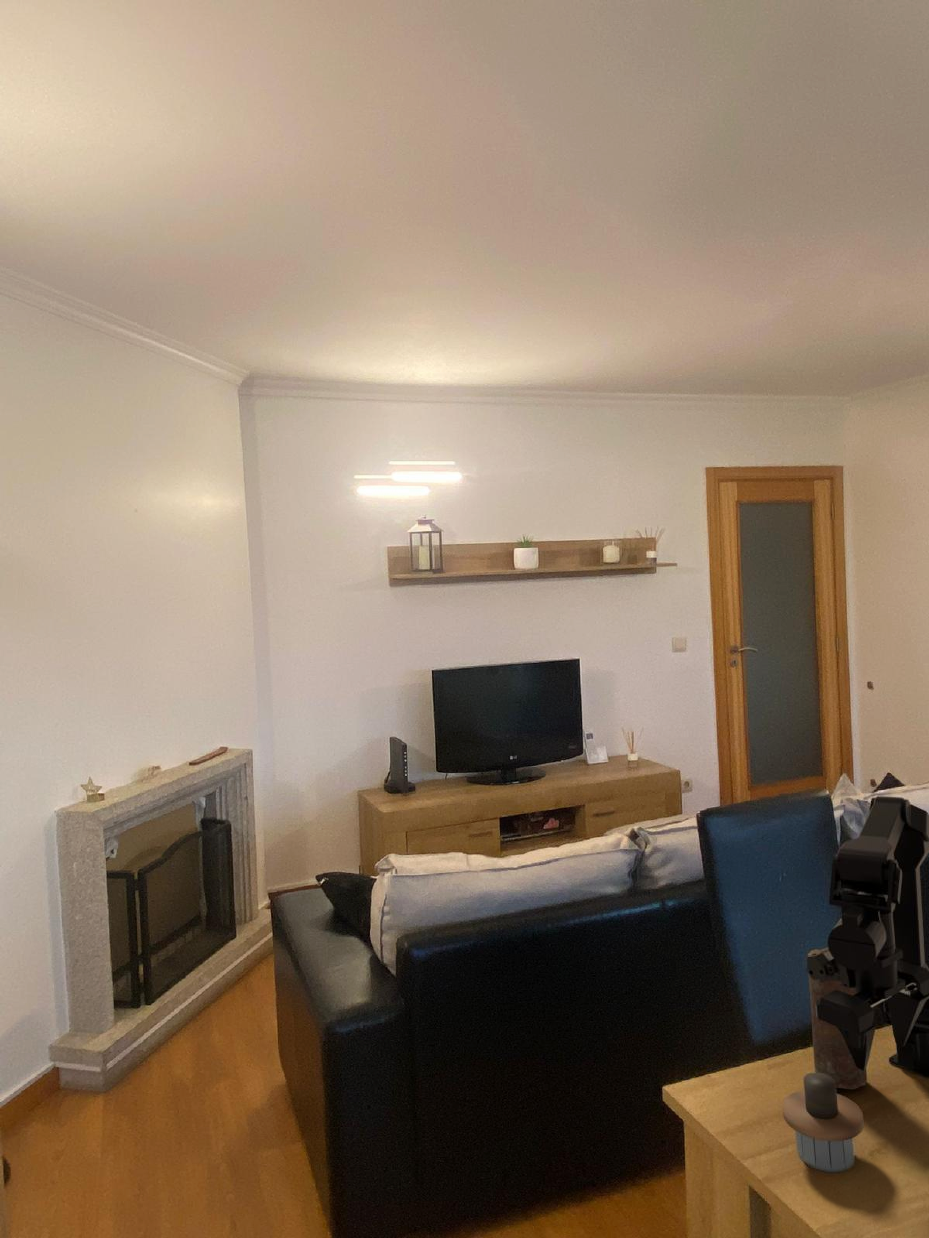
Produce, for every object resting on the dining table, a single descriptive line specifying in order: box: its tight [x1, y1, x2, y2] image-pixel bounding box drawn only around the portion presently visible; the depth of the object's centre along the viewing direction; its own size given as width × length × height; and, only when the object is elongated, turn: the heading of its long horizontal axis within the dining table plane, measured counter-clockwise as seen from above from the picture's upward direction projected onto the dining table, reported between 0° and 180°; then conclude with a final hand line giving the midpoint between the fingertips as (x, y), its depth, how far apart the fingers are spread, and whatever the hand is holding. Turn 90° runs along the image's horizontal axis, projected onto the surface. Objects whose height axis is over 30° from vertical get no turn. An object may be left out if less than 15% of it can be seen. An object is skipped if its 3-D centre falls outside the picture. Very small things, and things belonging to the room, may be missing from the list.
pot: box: [795, 1131, 856, 1173], centre depth 113 cm, size 7×7×5 cm
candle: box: [807, 947, 868, 1090], centre depth 129 cm, size 8×7×20 cm
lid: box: [782, 1072, 865, 1141], centre depth 113 cm, size 10×10×5 cm
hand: (881, 1056), depth 114 cm, fingers open, 9 cm apart
